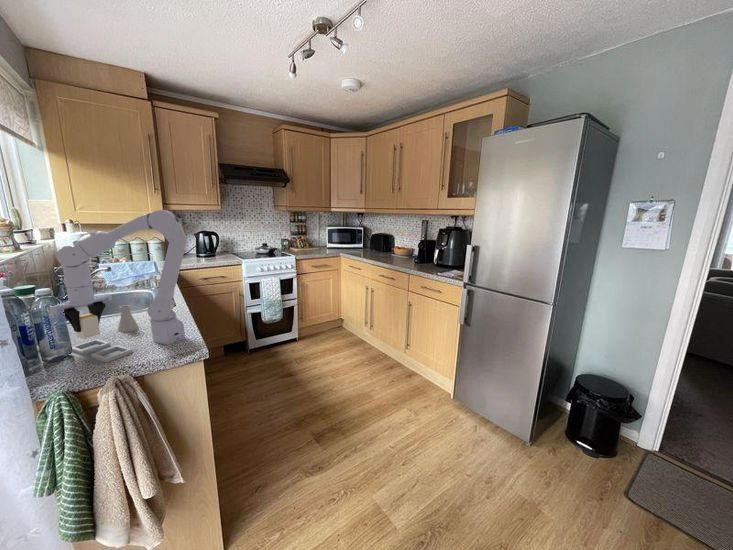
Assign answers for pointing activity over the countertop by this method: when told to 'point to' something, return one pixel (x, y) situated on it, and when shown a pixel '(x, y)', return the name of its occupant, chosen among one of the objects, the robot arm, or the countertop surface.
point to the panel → (100, 351)
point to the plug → (88, 326)
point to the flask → (126, 320)
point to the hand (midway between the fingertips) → (87, 328)
